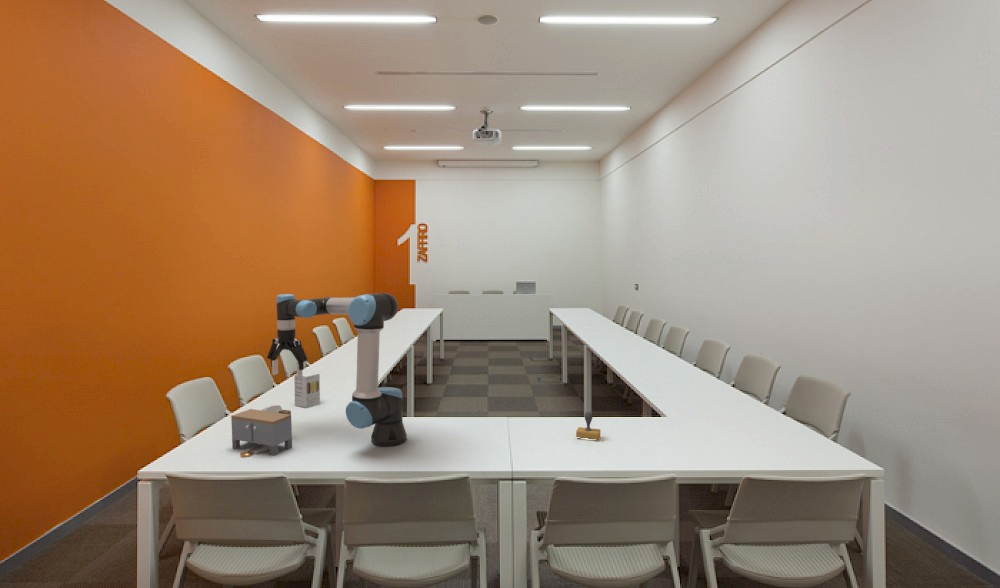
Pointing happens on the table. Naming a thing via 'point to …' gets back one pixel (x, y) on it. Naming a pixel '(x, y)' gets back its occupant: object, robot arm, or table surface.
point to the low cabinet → (262, 429)
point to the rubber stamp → (588, 429)
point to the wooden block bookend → (262, 447)
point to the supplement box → (307, 389)
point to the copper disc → (246, 454)
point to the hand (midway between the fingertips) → (287, 375)
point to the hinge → (273, 409)
